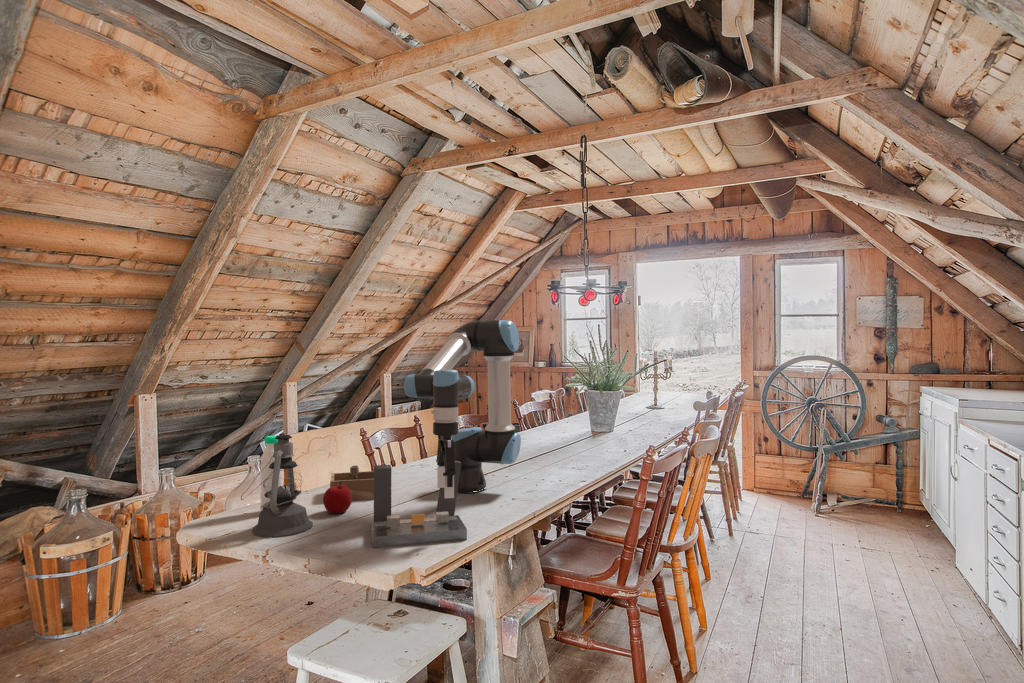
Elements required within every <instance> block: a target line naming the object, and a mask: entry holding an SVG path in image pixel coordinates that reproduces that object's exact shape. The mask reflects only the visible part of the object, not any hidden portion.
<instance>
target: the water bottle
mask: <svg viewBox="0 0 1024 683" xmlns="http://www.w3.org/2000/svg"><path fill="white" fill-rule="evenodd" d="M276 436H277V435H274V434H273V435H267V436H265V437H264V445H265V447H266V448H265V449H264V450H263V453H262V454H261V456H260V463H261V465H260V471H261V470H262V469H263V468H264V467H265V466H266V465H267V464H268V463H269V462H270V463H269V464H268V465H267V466H266V467H265V468H264V469H263V470H262V471H261V473H260V484H261V483H262V482H263V481H264V480H265V479H266V478H267V477H268V476H269V475H270V474H271V473H272V472H273V471H274V469H270V468H269V466H270V464H271V463H272V462H274V461H275V458H273V457H272V455H273V454H274V444H275V443H278V439H275V437H276ZM271 457H272V459H271ZM270 459H271V461H270ZM280 470H285V469H280ZM284 472H285V471H280V474H279V482H278V487H279V486H284V479H285V476H284V475H285V473H284ZM271 475H272V476H271ZM271 475H270V476H271V477H270V476H269V477H270V478H272V479H273V473H272V474H271ZM269 477H268V480H266V481H265V483H264V482H263V483H264V485H265V486H266V487H265V488H266V489H265V488H264V486H263V483H262V484H261V485H260V490H261V491H260V506H262V505H264V504H265V503H267V502H269V501H270V498H266V497H265V496H264V494H265V493H266V492H267V491H271V488H270V487H272V479H269ZM266 490H267V491H266ZM260 506H259V508H260V510H259V511H260V512H261V511H262V510H263V508H262V507H260Z"/></svg>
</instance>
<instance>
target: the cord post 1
mask: <svg viewBox="0 0 1024 683" xmlns="http://www.w3.org/2000/svg"><path fill="white" fill-rule="evenodd" d="M373 471H374V499H373V522H376V521H387V516H392V466H391V464H384V465H383V464H379V465H373Z"/></svg>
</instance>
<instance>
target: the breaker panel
mask: <svg viewBox="0 0 1024 683" xmlns="http://www.w3.org/2000/svg"><path fill="white" fill-rule="evenodd" d="M370 537H371V548H372V549H378V548H389V547H401V546H412V545H423V544H432V543H433V544H435V543H444V542H445V543H446V541H447V542H455V541H458V540H459V541H466V540H467V541H468V528H467V527H466V525H465V524H464V522H463V520H462V519H461V517H460V515H458V514H456V515H455V514H454V516H449V513H448V511H447V512H435V516H432V517H431V516H430V517H429V516H428V517H424V523H421V524H411V518H404V519H401V515H400V514H396V515H391V516H387V521H376V522H374V521H371V522H370ZM459 541H458V542H459Z"/></svg>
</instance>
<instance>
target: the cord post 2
mask: <svg viewBox="0 0 1024 683" xmlns="http://www.w3.org/2000/svg"><path fill="white" fill-rule="evenodd" d="M461 464H462V463H461V462H459V461H455V471H456V474H454V498H444V488H438V489H439V491H438V497H437V503H436V504H437V505H436V512H447V511H448V513H449V516H454V515H455V513H456V506H457V499H458V498H457V497H458V494H459V493H458V485H459V478H460V471H461ZM436 512H435V513H436Z"/></svg>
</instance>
